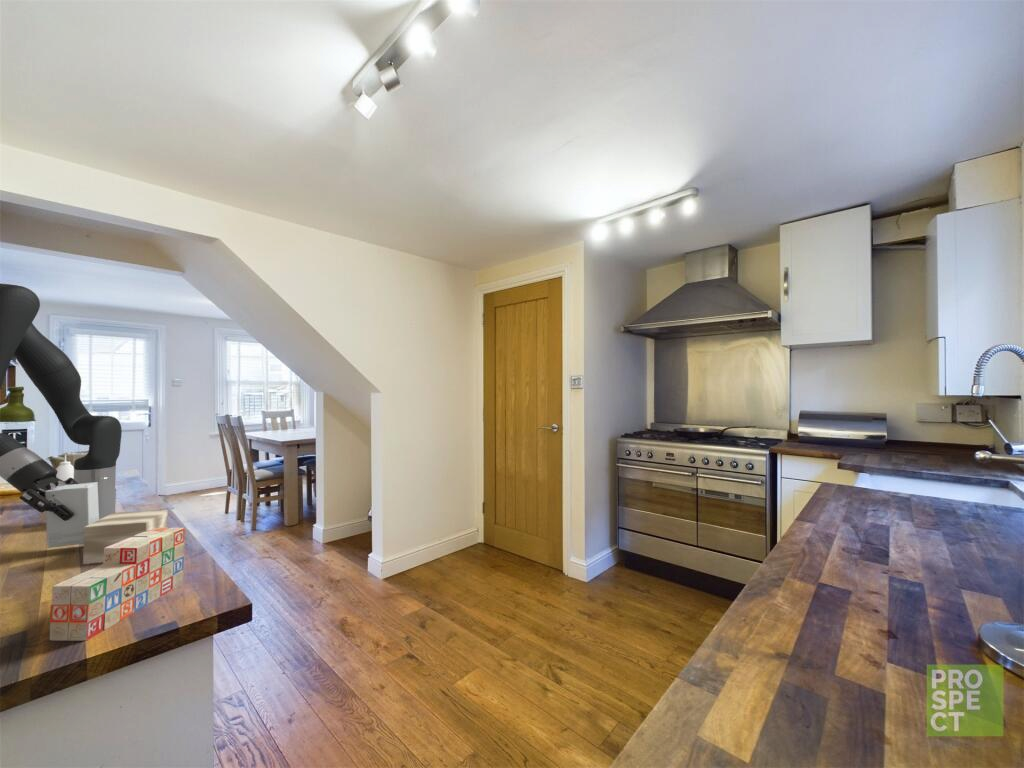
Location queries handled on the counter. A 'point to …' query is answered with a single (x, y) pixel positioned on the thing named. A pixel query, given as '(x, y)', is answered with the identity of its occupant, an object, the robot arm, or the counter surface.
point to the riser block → (118, 530)
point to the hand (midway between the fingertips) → (81, 513)
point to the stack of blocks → (118, 584)
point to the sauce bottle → (65, 470)
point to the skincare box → (81, 504)
